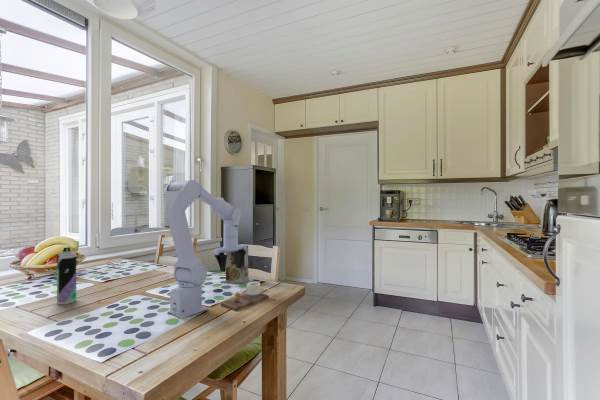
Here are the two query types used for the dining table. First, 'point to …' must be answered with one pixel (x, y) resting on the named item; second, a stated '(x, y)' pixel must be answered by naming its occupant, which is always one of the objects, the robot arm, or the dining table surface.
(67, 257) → the black purple carton
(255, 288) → the sleeve
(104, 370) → the dining table surface
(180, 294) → the robot arm
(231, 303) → the pin board
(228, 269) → the coffee box
